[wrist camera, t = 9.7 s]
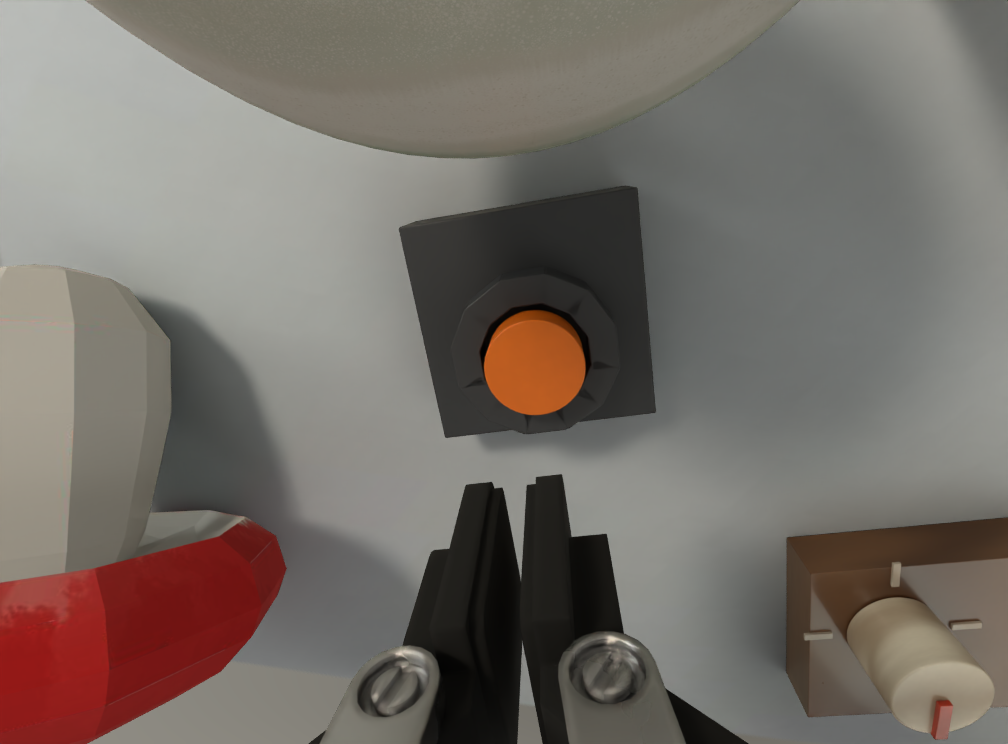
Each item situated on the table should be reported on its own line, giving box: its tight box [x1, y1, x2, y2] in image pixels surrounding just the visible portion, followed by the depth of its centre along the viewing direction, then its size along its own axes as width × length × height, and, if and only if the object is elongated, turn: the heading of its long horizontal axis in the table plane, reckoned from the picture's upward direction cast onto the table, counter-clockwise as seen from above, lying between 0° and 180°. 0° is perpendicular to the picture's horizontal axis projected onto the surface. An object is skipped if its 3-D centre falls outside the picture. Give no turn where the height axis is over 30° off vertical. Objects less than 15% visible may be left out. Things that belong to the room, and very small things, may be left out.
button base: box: [399, 186, 656, 438], centre depth 25 cm, size 10×10×5 cm
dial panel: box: [786, 518, 1008, 717], centre depth 30 cm, size 12×10×3 cm
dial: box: [847, 597, 995, 740], centre depth 27 cm, size 4×4×4 cm
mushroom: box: [0, 264, 287, 744], centre depth 25 cm, size 20×19×20 cm
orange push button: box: [484, 310, 586, 415], centre depth 22 cm, size 4×4×2 cm
